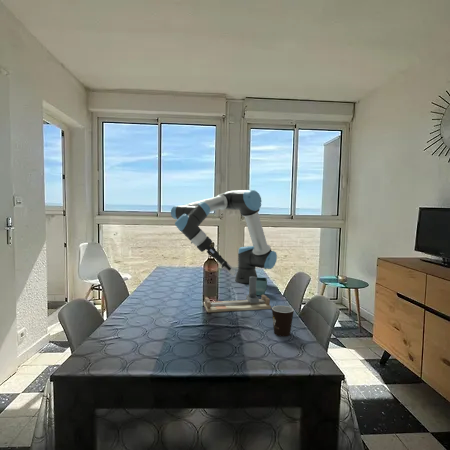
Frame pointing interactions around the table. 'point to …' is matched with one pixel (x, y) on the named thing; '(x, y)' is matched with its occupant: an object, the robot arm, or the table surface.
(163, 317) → the table surface
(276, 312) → the coffee mug
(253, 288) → the carriage
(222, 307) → the rail
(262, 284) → the flower pot
